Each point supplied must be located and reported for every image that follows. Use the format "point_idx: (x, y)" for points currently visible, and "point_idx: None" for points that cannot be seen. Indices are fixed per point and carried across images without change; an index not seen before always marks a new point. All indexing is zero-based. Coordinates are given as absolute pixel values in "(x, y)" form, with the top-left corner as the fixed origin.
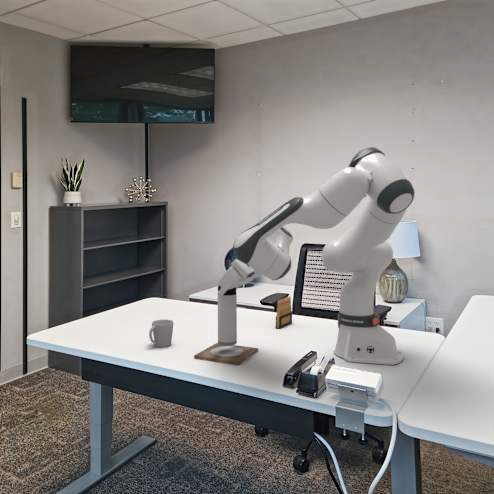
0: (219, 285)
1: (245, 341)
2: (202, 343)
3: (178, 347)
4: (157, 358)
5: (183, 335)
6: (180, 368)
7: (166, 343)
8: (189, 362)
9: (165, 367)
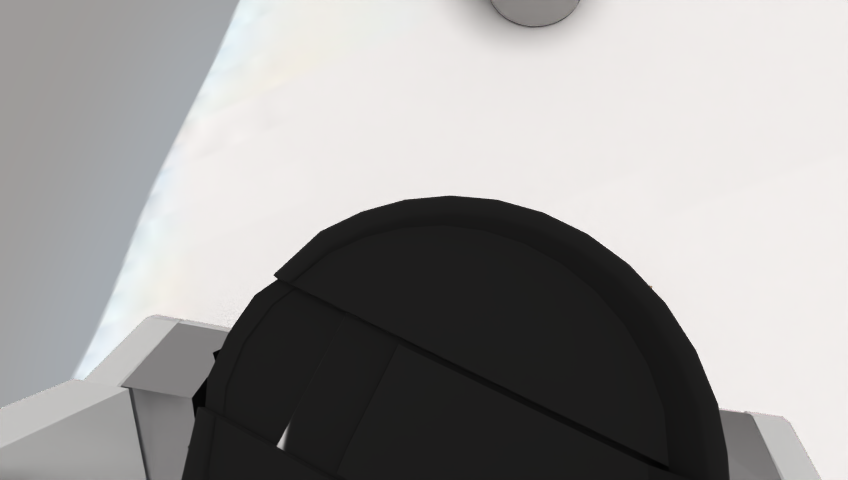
0: (481, 211)
1: (833, 466)
2: (655, 181)
3: (522, 81)
4: (303, 61)
5: (777, 8)
6: (166, 237)
7: (505, 6)
8: (271, 245)
9: (171, 157)
